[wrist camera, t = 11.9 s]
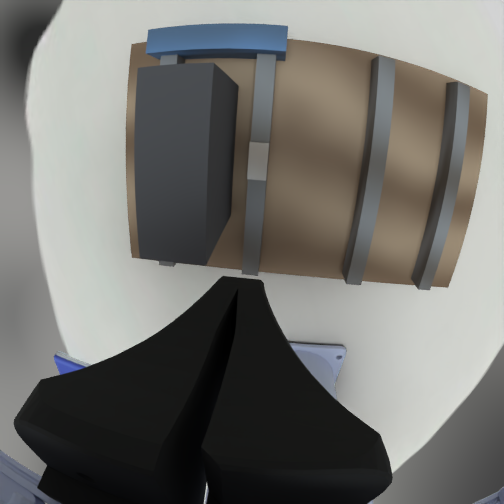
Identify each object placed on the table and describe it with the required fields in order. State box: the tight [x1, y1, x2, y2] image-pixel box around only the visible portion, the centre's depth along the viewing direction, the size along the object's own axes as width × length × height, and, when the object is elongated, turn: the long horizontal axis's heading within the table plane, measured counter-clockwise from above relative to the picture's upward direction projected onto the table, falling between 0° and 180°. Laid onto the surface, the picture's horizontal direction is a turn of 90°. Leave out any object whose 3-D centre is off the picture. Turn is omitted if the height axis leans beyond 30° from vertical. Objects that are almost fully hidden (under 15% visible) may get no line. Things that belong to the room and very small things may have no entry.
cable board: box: [126, 24, 488, 290], centre depth 16 cm, size 15×24×3 cm, turn 86°
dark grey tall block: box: [134, 63, 239, 266], centre depth 14 cm, size 8×3×7 cm, turn 176°
